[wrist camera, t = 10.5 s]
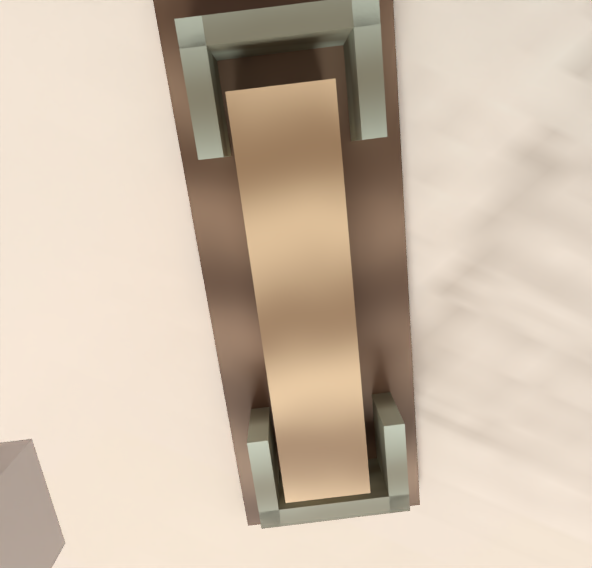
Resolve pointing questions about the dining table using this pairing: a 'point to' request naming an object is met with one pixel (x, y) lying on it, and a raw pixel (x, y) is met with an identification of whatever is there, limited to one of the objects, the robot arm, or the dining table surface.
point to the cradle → (360, 214)
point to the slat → (303, 282)
